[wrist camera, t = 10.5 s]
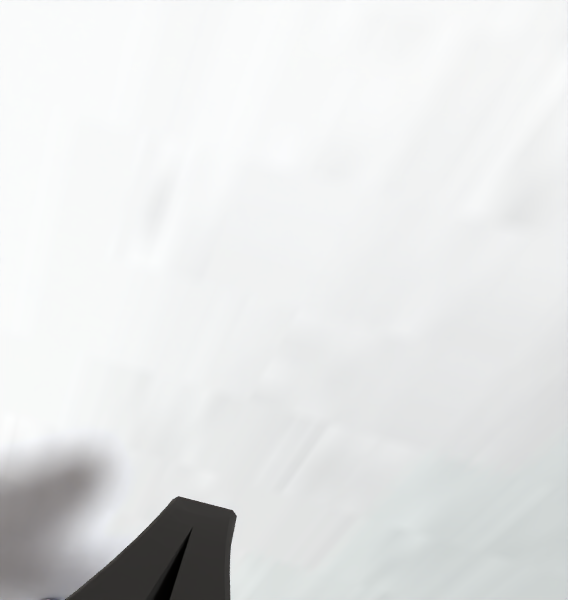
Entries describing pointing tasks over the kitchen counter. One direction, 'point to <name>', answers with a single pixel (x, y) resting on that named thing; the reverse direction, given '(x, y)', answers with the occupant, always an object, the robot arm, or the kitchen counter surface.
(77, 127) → the kitchen counter surface
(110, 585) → the robot arm
